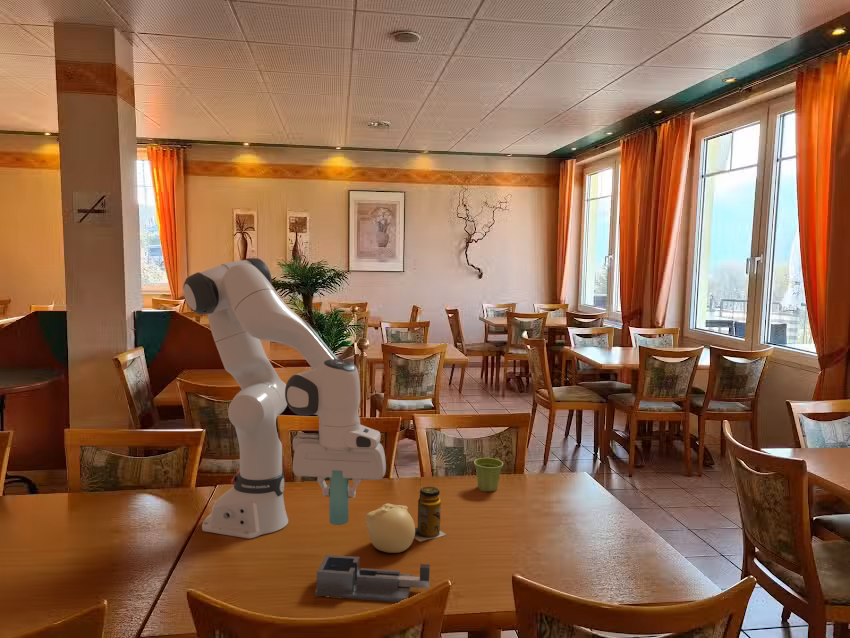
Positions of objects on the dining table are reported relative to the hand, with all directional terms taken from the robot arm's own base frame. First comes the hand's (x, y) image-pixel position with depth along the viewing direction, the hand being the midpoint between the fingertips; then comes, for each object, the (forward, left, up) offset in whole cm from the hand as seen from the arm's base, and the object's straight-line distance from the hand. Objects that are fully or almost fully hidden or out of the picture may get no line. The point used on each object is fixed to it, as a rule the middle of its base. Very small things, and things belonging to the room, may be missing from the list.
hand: (339, 496), depth 136 cm
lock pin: (+14, 0, -19) cm, 24 cm away
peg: (0, 0, -6) cm, 6 cm away
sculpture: (+9, +20, -21) cm, 30 cm away
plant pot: (+34, +64, -21) cm, 75 cm away
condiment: (+17, +29, -21) cm, 40 cm away
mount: (+6, 0, -21) cm, 21 cm away
